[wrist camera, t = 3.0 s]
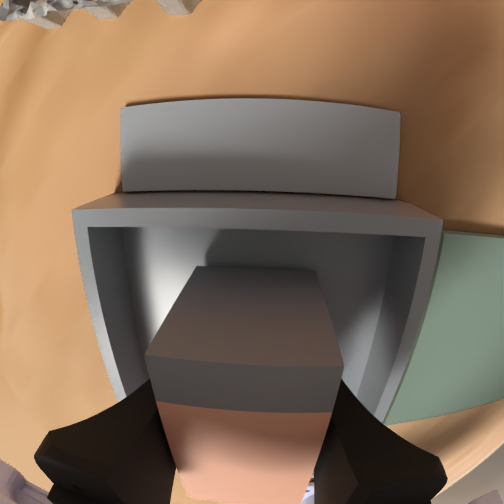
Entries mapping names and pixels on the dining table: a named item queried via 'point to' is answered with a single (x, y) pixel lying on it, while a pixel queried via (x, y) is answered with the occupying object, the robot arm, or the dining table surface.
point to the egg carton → (63, 3)
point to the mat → (457, 333)
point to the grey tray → (260, 226)
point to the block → (246, 382)
